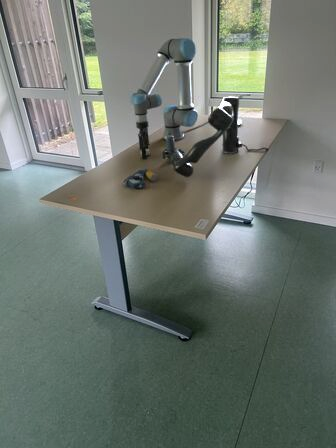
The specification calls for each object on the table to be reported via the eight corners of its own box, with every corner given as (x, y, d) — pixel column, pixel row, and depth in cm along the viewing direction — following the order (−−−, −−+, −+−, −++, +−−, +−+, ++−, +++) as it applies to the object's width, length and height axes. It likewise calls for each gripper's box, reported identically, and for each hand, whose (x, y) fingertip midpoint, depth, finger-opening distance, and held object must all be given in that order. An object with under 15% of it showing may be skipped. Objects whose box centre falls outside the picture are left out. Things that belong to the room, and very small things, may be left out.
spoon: (234, 136, 244) (234, 133, 243) (220, 136, 248) (220, 133, 247) (243, 120, 270) (243, 118, 269) (230, 120, 274) (230, 118, 273)
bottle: (166, 161, 208) (164, 137, 200) (169, 159, 211) (167, 134, 204) (174, 162, 206) (172, 137, 198) (176, 159, 210) (174, 135, 202)
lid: (150, 154, 215) (150, 150, 214) (142, 155, 214) (142, 152, 213) (148, 151, 220) (147, 148, 219) (140, 153, 219) (139, 149, 217)
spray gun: (162, 175, 189) (139, 172, 195) (161, 168, 187) (138, 166, 193) (144, 191, 174) (120, 188, 180) (143, 184, 171) (119, 181, 178)
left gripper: (140, 117, 215) (144, 152, 227) (131, 125, 199) (135, 162, 211) (151, 117, 213) (155, 152, 225) (143, 125, 198) (147, 162, 209)
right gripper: (188, 150, 193) (180, 142, 207) (164, 154, 191) (158, 145, 205) (188, 163, 197) (181, 153, 211) (165, 166, 194) (159, 157, 209)
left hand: (145, 156), depth 218 cm, fingers closed on lid, 6 cm apart
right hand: (170, 149), depth 208 cm, fingers closed on bottle, 5 cm apart
